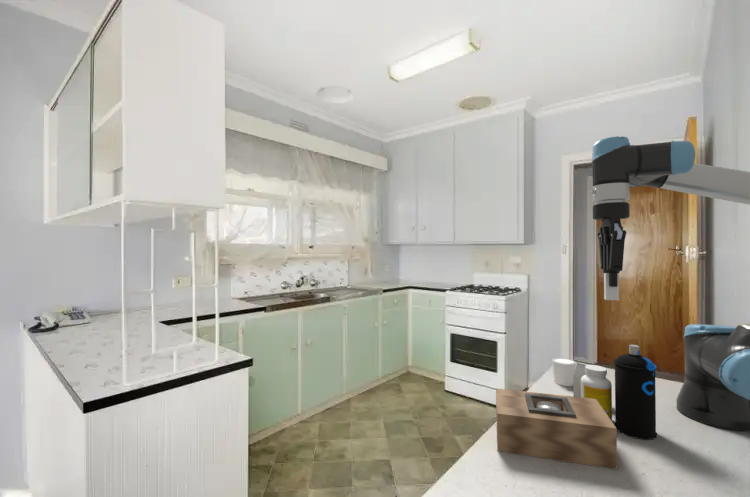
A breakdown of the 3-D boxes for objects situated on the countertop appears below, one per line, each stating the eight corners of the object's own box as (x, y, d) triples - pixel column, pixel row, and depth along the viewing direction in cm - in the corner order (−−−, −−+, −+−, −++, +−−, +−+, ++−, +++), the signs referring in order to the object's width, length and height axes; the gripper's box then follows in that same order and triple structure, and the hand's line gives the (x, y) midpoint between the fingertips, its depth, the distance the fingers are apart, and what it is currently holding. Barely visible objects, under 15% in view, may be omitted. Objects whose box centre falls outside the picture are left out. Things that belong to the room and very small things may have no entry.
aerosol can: (611, 431, 83) (610, 346, 83) (617, 418, 90) (616, 339, 89) (655, 444, 78) (654, 353, 78) (659, 429, 84) (658, 345, 84)
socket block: (596, 433, 83) (595, 396, 83) (616, 469, 69) (616, 425, 69) (496, 420, 89) (496, 386, 89) (497, 450, 76) (497, 410, 76)
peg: (559, 437, 81) (559, 402, 81) (563, 449, 76) (563, 412, 76) (535, 434, 82) (535, 399, 82) (538, 445, 78) (537, 409, 78)
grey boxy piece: (598, 407, 96) (597, 370, 96) (573, 398, 102) (573, 363, 102) (605, 404, 98) (605, 367, 98) (581, 395, 104) (580, 361, 104)
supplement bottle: (617, 426, 86) (616, 373, 86) (586, 424, 87) (586, 371, 87) (605, 413, 92) (604, 364, 92) (577, 411, 94) (576, 362, 94)
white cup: (581, 386, 110) (580, 364, 110) (559, 387, 110) (558, 364, 110) (568, 378, 117) (568, 357, 117) (547, 378, 117) (547, 357, 117)
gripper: (586, 206, 94) (587, 295, 94) (600, 200, 82) (601, 303, 82) (619, 205, 92) (620, 296, 92) (639, 198, 79) (640, 304, 79)
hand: (611, 299), depth 87 cm, fingers closed
